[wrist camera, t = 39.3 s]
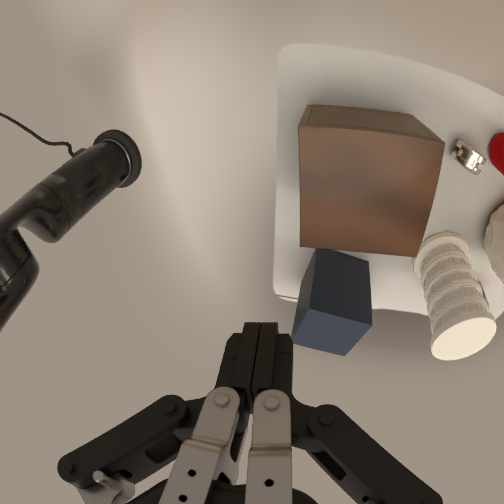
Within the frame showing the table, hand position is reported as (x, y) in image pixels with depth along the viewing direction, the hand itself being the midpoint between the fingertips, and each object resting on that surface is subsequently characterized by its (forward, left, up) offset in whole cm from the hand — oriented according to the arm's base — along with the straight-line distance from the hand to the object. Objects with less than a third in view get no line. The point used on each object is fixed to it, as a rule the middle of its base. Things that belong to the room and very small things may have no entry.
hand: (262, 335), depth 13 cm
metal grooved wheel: (+22, +7, -32) cm, 39 cm away
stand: (+11, -23, -31) cm, 41 cm away
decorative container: (+29, -12, -32) cm, 45 cm away
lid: (+7, -1, -20) cm, 21 cm away
